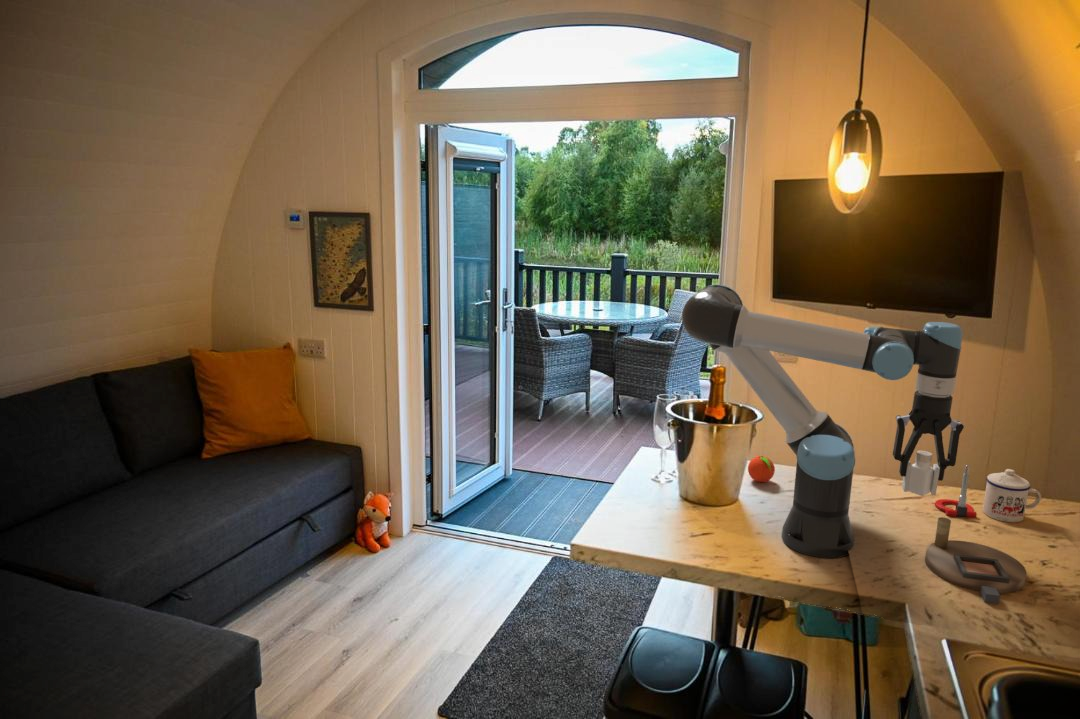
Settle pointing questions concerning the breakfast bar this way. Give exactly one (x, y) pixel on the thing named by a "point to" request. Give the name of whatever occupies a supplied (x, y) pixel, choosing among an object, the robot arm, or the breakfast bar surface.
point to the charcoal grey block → (990, 595)
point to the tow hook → (961, 505)
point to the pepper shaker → (921, 474)
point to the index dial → (972, 563)
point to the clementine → (761, 469)
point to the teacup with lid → (1007, 496)
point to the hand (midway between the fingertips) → (918, 490)
